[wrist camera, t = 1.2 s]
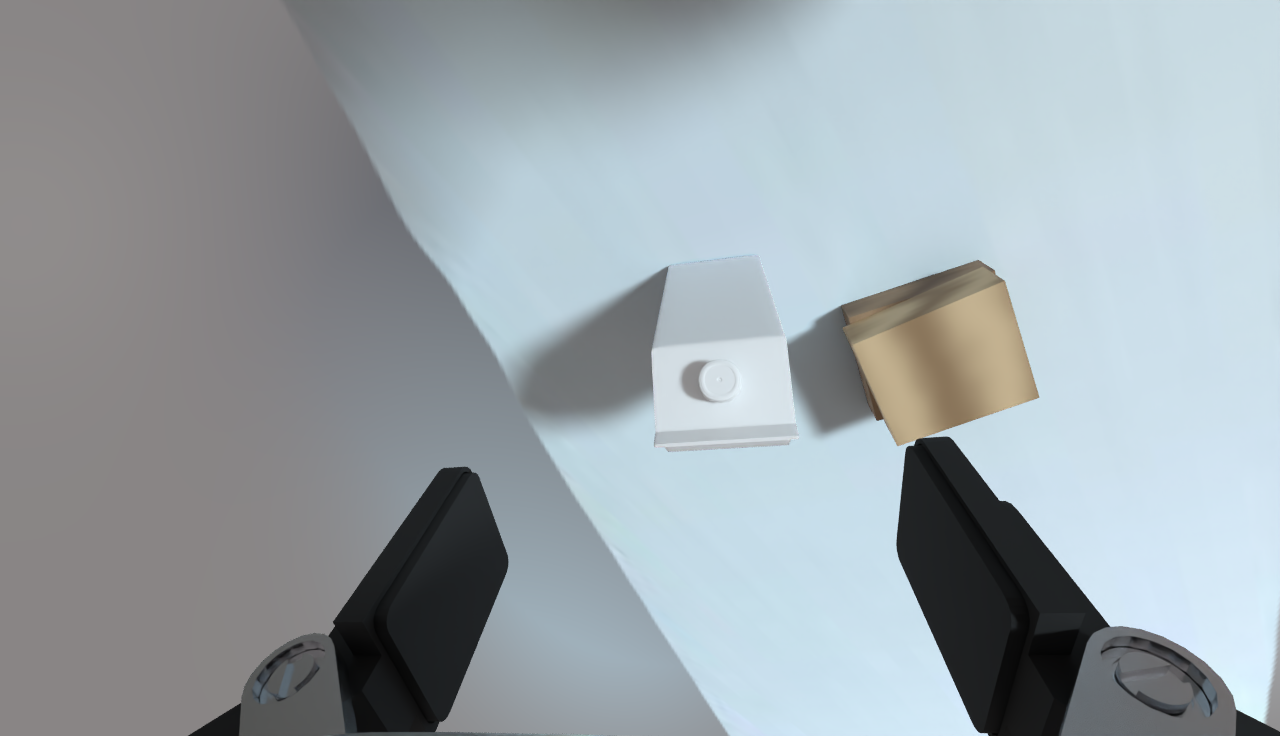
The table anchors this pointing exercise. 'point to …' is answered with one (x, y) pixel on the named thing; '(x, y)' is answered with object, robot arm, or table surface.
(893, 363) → the top slab
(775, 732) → the table surface
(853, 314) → the bottom slab
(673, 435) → the milk carton
